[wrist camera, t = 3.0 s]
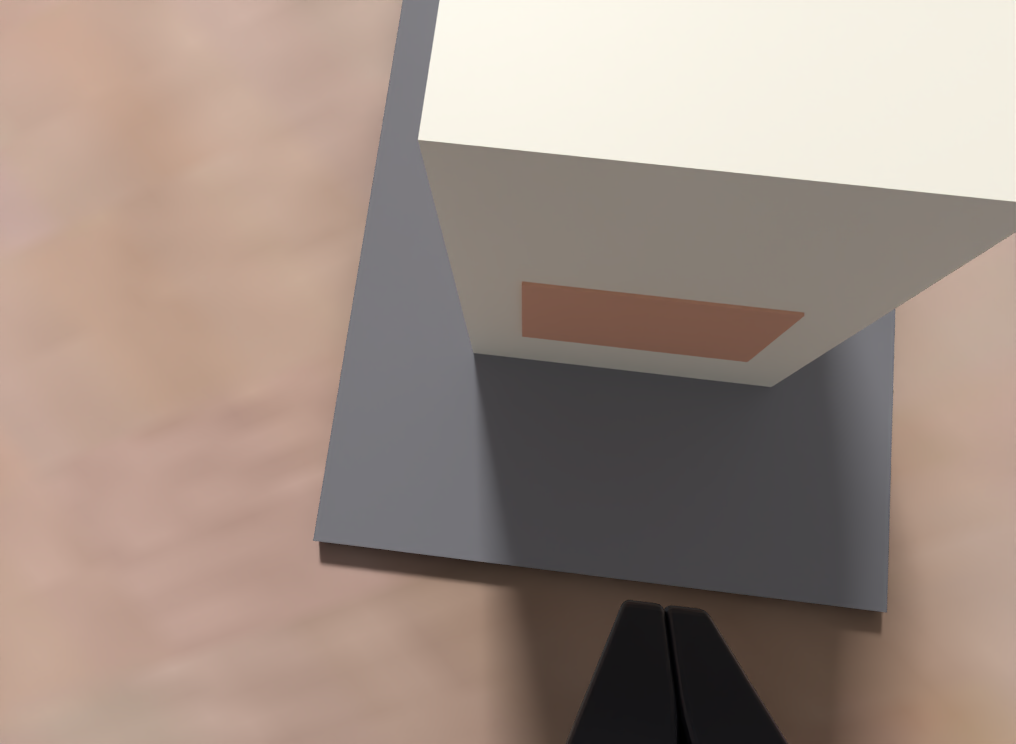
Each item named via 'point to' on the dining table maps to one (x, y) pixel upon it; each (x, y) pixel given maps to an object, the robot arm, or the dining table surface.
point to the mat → (589, 430)
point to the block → (713, 172)
